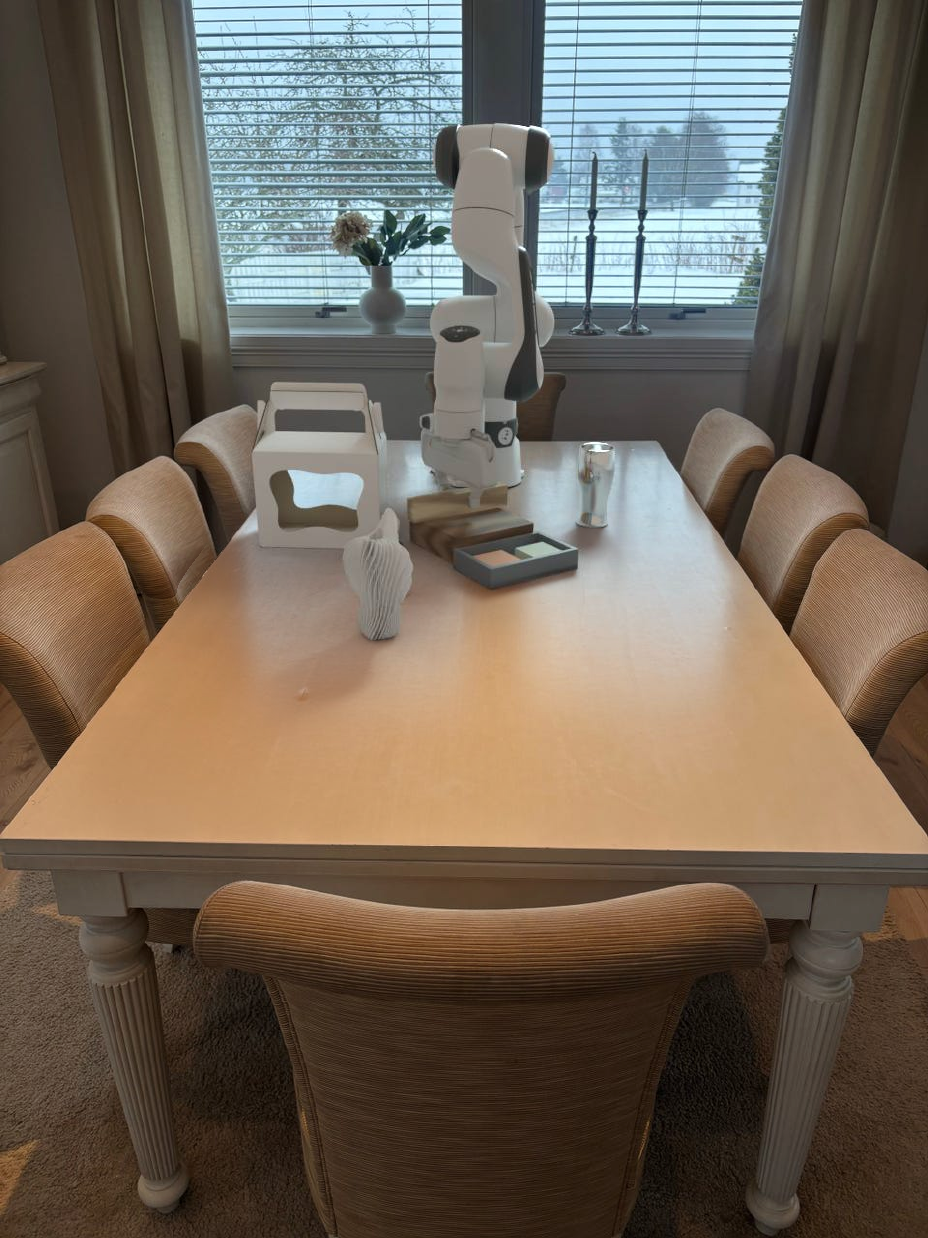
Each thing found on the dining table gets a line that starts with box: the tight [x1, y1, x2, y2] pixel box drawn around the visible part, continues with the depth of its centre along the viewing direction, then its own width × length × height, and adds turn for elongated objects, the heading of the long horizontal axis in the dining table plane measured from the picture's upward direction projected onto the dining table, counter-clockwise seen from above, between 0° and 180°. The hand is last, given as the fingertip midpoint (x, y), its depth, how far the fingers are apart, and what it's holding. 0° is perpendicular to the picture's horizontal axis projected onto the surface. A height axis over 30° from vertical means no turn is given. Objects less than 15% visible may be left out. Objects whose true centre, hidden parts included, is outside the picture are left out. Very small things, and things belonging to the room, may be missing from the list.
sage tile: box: [515, 542, 562, 560], centre depth 158 cm, size 6×6×2 cm
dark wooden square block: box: [408, 507, 535, 565], centre depth 167 cm, size 16×16×5 cm
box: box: [452, 530, 580, 591], centre depth 157 cm, size 11×18×4 cm, turn 123°
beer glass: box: [575, 442, 616, 529], centre depth 177 cm, size 7×7×15 cm
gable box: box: [251, 381, 389, 550], centre depth 166 cm, size 22×13×28 cm, turn 88°
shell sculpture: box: [342, 507, 414, 641], centre depth 129 cm, size 8×8×18 cm
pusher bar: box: [406, 482, 509, 524], centre depth 168 cm, size 2×20×4 cm, turn 123°
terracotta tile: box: [473, 550, 521, 567], centre depth 154 cm, size 6×6×2 cm
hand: (458, 500), depth 168 cm, fingers open, 8 cm apart
